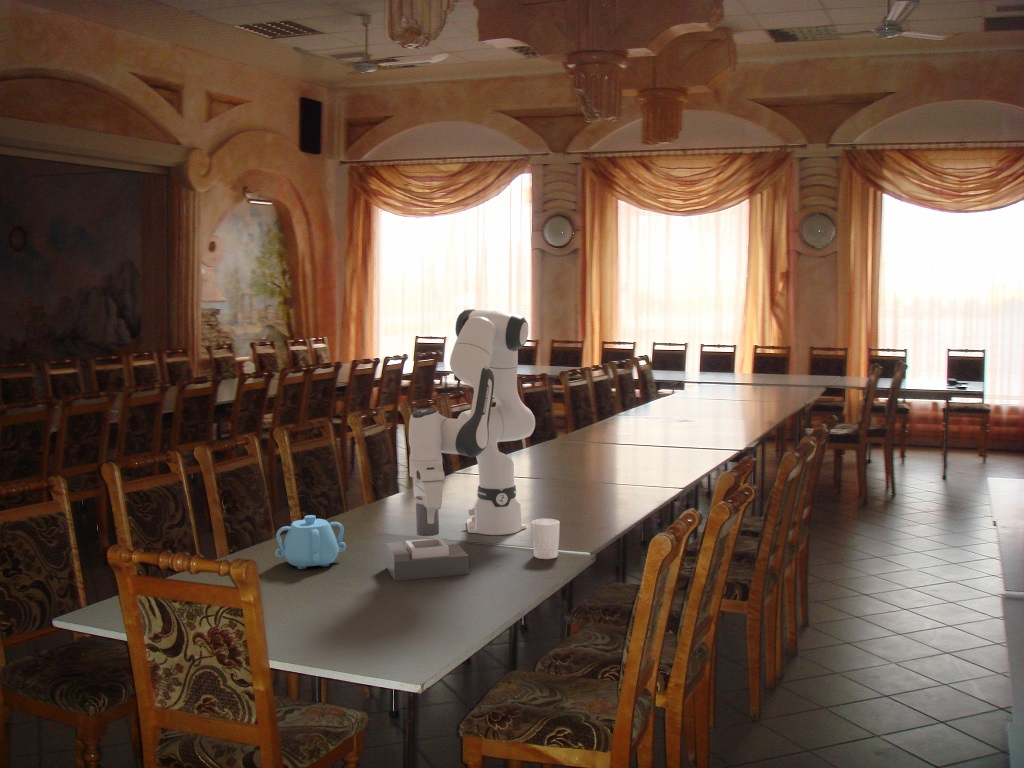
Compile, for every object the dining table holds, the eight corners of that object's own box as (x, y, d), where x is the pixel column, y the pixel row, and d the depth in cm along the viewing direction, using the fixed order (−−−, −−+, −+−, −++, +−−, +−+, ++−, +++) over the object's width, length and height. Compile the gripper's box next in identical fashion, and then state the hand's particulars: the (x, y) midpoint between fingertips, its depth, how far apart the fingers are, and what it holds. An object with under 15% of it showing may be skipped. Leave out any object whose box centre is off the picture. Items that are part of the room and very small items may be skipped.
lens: (414, 532, 276) (413, 495, 275) (436, 530, 277) (435, 494, 276) (418, 537, 270) (417, 499, 269) (441, 535, 272) (440, 498, 271)
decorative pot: (269, 567, 281) (267, 518, 280) (309, 553, 295) (307, 507, 294) (313, 575, 273) (311, 525, 272) (352, 560, 287) (351, 513, 285)
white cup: (558, 552, 292) (558, 518, 291) (561, 559, 285) (560, 524, 284) (531, 552, 292) (530, 518, 291) (532, 560, 284) (532, 525, 283)
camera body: (386, 567, 278) (386, 541, 278) (458, 561, 284) (457, 535, 283) (394, 580, 266) (394, 552, 265) (469, 574, 271) (468, 546, 271)
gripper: (407, 464, 281) (408, 513, 282) (422, 476, 262) (423, 529, 263) (429, 462, 283) (431, 511, 284) (446, 474, 263) (447, 527, 265)
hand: (427, 520), depth 273 cm, fingers closed on lens, 6 cm apart
